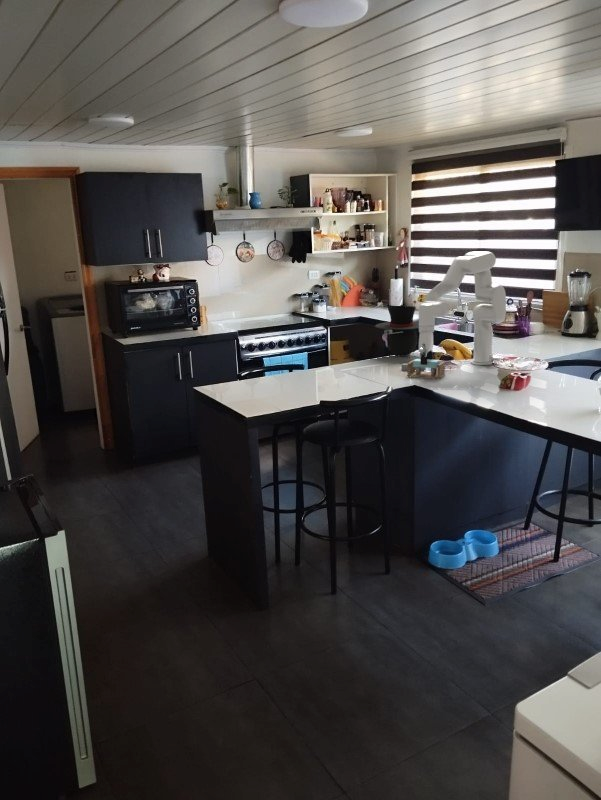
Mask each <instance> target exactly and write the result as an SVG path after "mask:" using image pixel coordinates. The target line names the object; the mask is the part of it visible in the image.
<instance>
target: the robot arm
mask: <svg viewBox="0 0 601 800" xmlns="http://www.w3.org/2000/svg"><path fill="white" fill-rule="evenodd" d="M496 259H497V258H496V256H495V254H494V253H493V252H490V251H469V252H467V253H465V254H464V255H463V256H457V257H456V258H454V259H453V261H452V262H451V264H450V266H449V268H448V269H447V272H446V274H445V276H444V277H443V279H442V281H441V282H440V283H438V284H436V285H435V286H434V287H433V288H432V289H431V290H430V291H429V292H428V293H427V294H426V297H425V298H424V300H423V303H420V304H419V305H418V322H419V329H418V333H419V336H418V337H419V338H418V352H419V354H420V355H419V356H420V358H419V359H421V365H427V359H430V360H434V359H433V358H434V355H433V353H434V351H433V348H434V332H435V318H443V317H446V316H447V315H448V314H449V313H450V304H449V303H447V302H445V301H441V300H440V299H441V298H442V297H443V296H446V295H448V294H449V293H452V292H455V291H457V290H458V289H459V287H460V285H461V283H462V281H463V279H464V278H465V276H466V275H473V277H474V296H475V299H476V301H478V302H483V303H481V304H477V305H476V306H474V307H473V309H472V319H473V324H474V326H473V327H474V328H473V331H474V332H473V359H470V364H472V365H475V366H488V365H489V366H490V365H493V364H492V363H493V361H495V362H496V361H497V362H499V361H501V357H499V356H494V353H493V338H494V337H493V335H494V333H493V332H494V331H493V330H494V329H493V326H492V324H496V325H497V324H502V323H503V322H504V321H505V318H506V316H507V301H506V300H507V294H506V289H505V288H504V286H503V285H501V284H498V283H493V281H492V272H491V269H492V268H493V267H494V266H495V264H496V262H497V261H496ZM486 303H487V304H486ZM488 303H491V304H488Z"/></svg>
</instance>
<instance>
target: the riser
mask: <svg viewBox="0 0 601 800" xmlns="http://www.w3.org/2000/svg"><path fill="white" fill-rule="evenodd" d="M406 370H408V363H402V364H401V371H406ZM415 370H416V367H415ZM424 370H425V371H426V368H425V367H421V372H422V371H424ZM425 371H424V372H425Z"/></svg>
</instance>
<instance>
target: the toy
mask: <svg viewBox="0 0 601 800" xmlns="http://www.w3.org/2000/svg"><path fill="white" fill-rule="evenodd" d="M387 309H388V310H387V311H388V313H389V317H390V321H387V322H381V323H378V324H375V325H374V327H375V328H377V329H379V330H380V329H381V330H384V333H383V334H382V335H381V336H382V340H383V341H384V342H385V347H386V348H387V349H388V350H389V352H390V353H391V354H393V355H395V356H397V357H406V356H409V355H411V354H413V352H414V351H415V349H416V348H417V343H418V334H417V331H416V330H419V321H414V315H415V311H416V309H417V307H416V306H414V305H413V306H412V305H411V306H410V305H396V306H390V307H388V308H387ZM398 355H400V356H398Z"/></svg>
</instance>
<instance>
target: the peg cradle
mask: <svg viewBox="0 0 601 800" xmlns="http://www.w3.org/2000/svg"><path fill="white" fill-rule="evenodd" d="M414 360H415V359H412V360H410V361H409V362H407V364H408V371H407V375H406V377H407V376H411V377H410V378H415V377H422V378H421V379H430V378H434V379H433V380H441V379H443V377H444V378H445V376H446V373H445V371H446V370H445V367H446V366H445V363H446V361H441V362H440V364H438V366H437V368H430V371H429V372H428V371H424V372H422V371H421V367H416V371H415V367H413V361H414Z"/></svg>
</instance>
